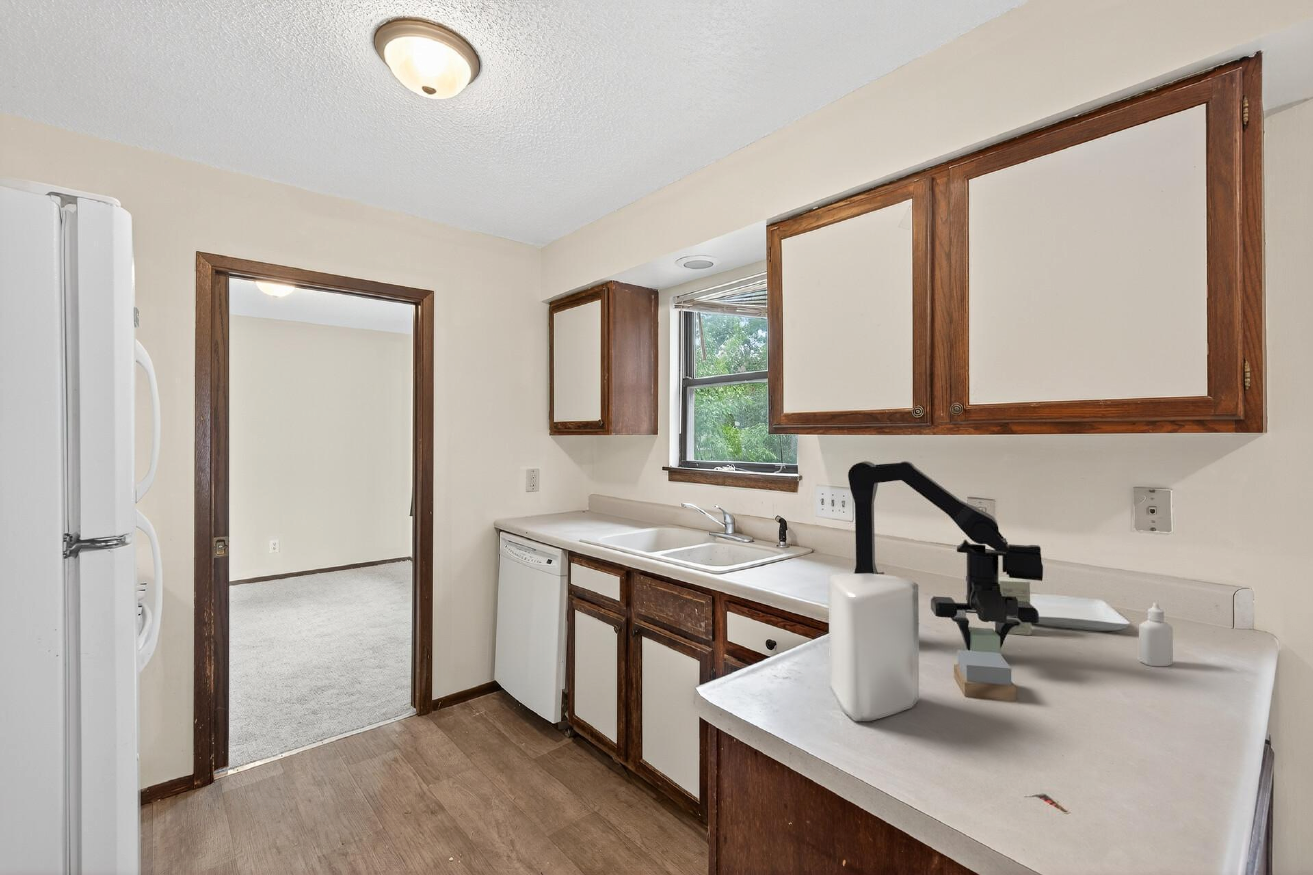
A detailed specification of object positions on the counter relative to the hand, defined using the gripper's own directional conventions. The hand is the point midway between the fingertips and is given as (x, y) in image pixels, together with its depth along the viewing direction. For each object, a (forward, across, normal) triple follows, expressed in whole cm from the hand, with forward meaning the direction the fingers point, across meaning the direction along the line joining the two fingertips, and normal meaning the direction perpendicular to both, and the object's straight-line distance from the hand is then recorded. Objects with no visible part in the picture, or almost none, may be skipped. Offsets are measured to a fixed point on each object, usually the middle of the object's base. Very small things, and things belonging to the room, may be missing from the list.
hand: (982, 650), depth 120 cm
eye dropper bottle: (+2, +32, +4) cm, 32 cm away
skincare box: (+2, +11, +18) cm, 21 cm away
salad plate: (+2, +26, +31) cm, 41 cm away
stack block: (+1, 0, 0) cm, 1 cm away
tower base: (+2, -4, -16) cm, 16 cm away
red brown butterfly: (+2, -6, -50) cm, 50 cm away
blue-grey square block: (-1, -4, -16) cm, 17 cm away
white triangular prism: (+2, -23, -25) cm, 34 cm away
